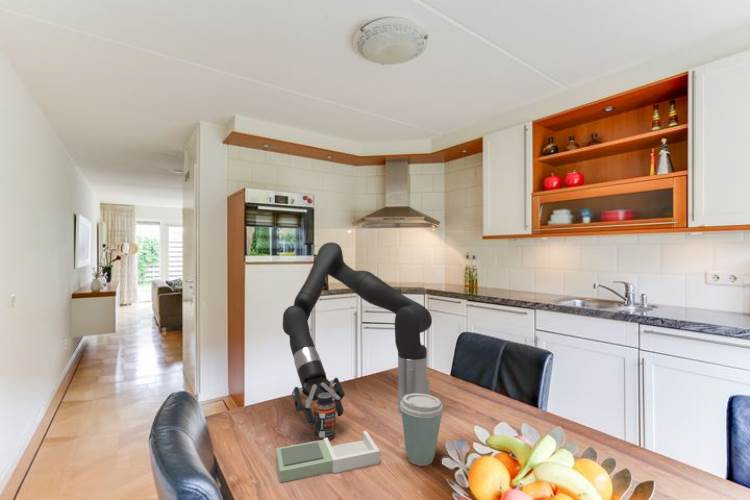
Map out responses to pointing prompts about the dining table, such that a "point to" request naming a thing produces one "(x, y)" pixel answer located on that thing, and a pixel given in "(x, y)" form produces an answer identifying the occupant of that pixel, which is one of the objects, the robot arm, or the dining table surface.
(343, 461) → the chute bracket
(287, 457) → the green rectangular block
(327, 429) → the supplement bottle
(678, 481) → the dining table surface
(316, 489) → the dining table surface
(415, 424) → the disposable coffee cup
